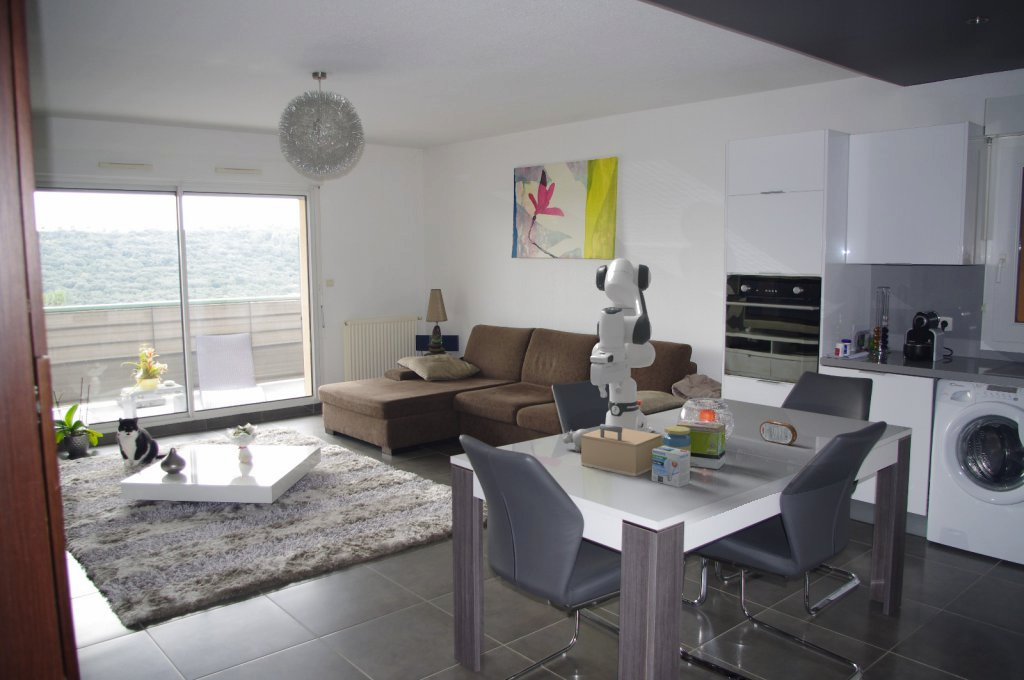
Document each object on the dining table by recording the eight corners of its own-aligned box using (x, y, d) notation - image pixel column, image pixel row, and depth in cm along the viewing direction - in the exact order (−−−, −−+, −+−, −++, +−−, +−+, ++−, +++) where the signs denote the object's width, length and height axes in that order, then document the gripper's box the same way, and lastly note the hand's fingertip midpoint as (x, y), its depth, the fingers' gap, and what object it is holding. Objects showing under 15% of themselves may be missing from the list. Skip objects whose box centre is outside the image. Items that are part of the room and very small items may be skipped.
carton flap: (608, 428, 273) (609, 413, 272) (662, 436, 259) (662, 421, 258) (581, 437, 259) (581, 422, 259) (635, 447, 245) (635, 431, 245)
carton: (608, 454, 274) (608, 428, 273) (661, 464, 260) (662, 437, 259) (581, 465, 260) (581, 437, 259) (635, 476, 246) (635, 447, 245)
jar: (661, 467, 257) (661, 425, 255) (687, 467, 256) (688, 425, 255) (665, 475, 248) (666, 431, 246) (692, 475, 247) (693, 431, 246)
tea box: (725, 463, 262) (726, 422, 260) (717, 470, 253) (718, 428, 252) (684, 457, 269) (684, 418, 268) (675, 464, 261) (676, 423, 259)
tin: (797, 445, 286) (797, 424, 285) (792, 447, 284) (793, 425, 283) (762, 438, 297) (762, 418, 296) (758, 440, 295) (758, 419, 295)
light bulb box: (650, 480, 242) (651, 448, 241) (662, 476, 246) (663, 445, 245) (678, 487, 234) (679, 454, 233) (690, 483, 239) (691, 450, 238)
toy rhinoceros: (567, 446, 287) (567, 424, 286) (595, 450, 281) (595, 428, 280) (558, 450, 281) (558, 428, 280) (586, 454, 275) (586, 432, 274)
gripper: (619, 351, 261) (619, 390, 262) (587, 357, 245) (587, 398, 246) (635, 353, 257) (634, 392, 258) (603, 359, 241) (603, 400, 242)
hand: (611, 395), depth 252 cm, fingers open, 8 cm apart
